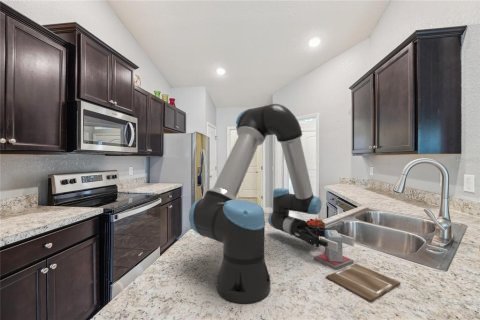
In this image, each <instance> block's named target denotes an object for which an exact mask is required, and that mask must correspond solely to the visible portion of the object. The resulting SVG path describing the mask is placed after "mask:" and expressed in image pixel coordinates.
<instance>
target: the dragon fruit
mask: <svg viewBox="0 0 480 320" xmlns="http://www.w3.org/2000/svg"><path fill="white" fill-rule="evenodd" d="M306 222H307V224H308V225H309V226H313V227H316V226H320V227H323V228H326V223H325V222H324V221H323V219H318V218H317V217H315V218H310V219H309V220H306ZM316 235H317V232H316Z"/></svg>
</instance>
